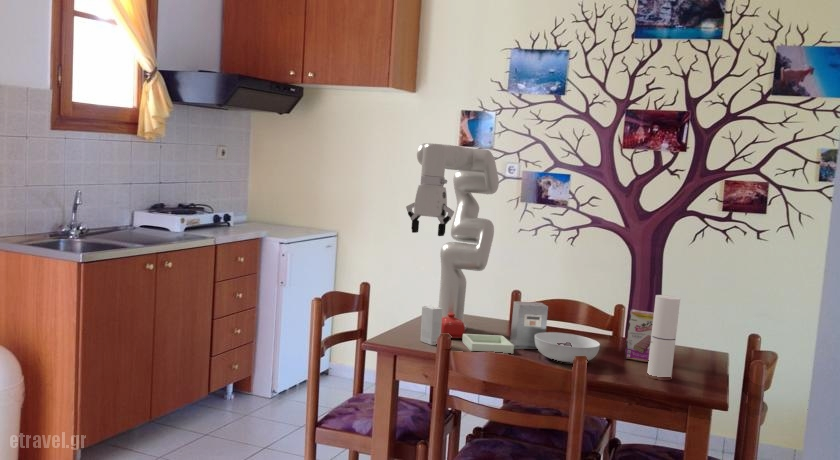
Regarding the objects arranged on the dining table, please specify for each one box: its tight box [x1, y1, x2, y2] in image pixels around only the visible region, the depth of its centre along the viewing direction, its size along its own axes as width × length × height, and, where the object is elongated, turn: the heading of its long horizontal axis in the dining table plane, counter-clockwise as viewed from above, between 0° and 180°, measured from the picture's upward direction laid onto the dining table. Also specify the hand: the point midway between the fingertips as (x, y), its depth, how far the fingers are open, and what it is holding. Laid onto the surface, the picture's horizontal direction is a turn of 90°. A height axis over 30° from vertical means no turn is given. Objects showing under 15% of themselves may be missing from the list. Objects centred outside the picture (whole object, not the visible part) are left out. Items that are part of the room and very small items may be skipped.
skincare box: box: [420, 305, 442, 346], centre depth 254 cm, size 6×4×12 cm
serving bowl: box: [534, 331, 601, 364], centre depth 246 cm, size 21×21×7 cm
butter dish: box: [441, 313, 466, 340], centre depth 267 cm, size 12×12×8 cm
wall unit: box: [507, 300, 549, 350], centre depth 260 cm, size 9×12×15 cm
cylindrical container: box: [646, 294, 681, 378], centre depth 233 cm, size 7×7×25 cm
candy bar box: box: [624, 309, 654, 360], centre depth 254 cm, size 11×5×16 cm, turn 71°
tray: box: [462, 333, 515, 355], centre depth 255 cm, size 14×14×3 cm
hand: (427, 234), depth 249 cm, fingers open, 9 cm apart
